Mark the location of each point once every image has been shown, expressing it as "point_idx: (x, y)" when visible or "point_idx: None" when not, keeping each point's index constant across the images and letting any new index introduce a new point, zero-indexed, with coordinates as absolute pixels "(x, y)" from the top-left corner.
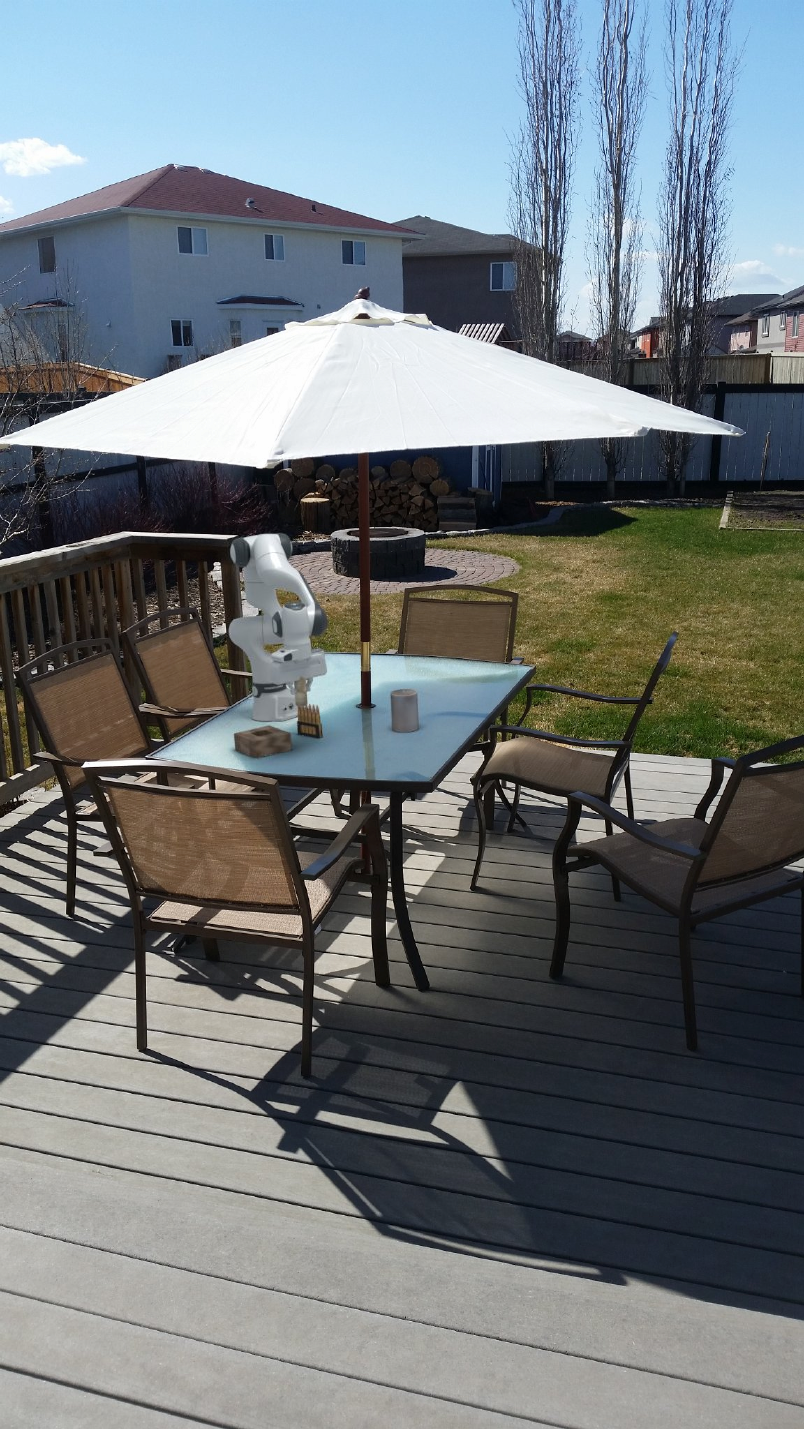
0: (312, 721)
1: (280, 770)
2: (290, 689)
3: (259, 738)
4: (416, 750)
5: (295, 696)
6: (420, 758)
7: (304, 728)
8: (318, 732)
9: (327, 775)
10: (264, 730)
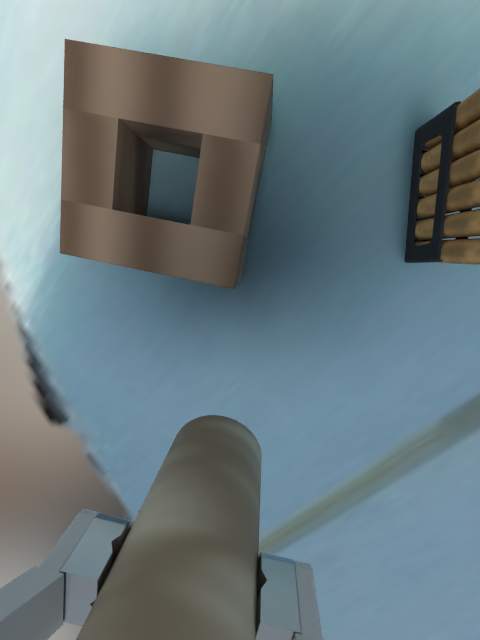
0: (451, 221)
1: (86, 399)
2: (43, 566)
3: (97, 236)
4: (428, 582)
5: (144, 501)
6: (369, 617)
7: (434, 165)
8: (417, 259)
9: None
10: (199, 134)
